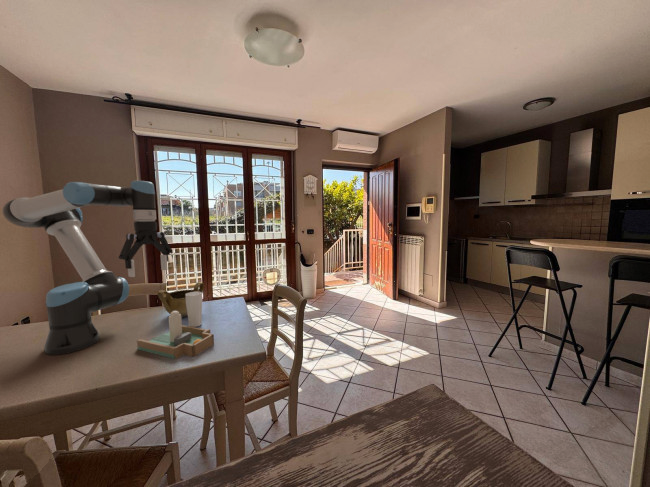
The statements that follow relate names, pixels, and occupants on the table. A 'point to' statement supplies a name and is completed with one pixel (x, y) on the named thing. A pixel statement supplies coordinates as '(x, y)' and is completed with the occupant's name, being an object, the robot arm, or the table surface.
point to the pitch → (168, 349)
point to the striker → (177, 329)
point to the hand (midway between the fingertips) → (149, 273)
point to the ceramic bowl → (178, 299)
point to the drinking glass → (194, 308)
